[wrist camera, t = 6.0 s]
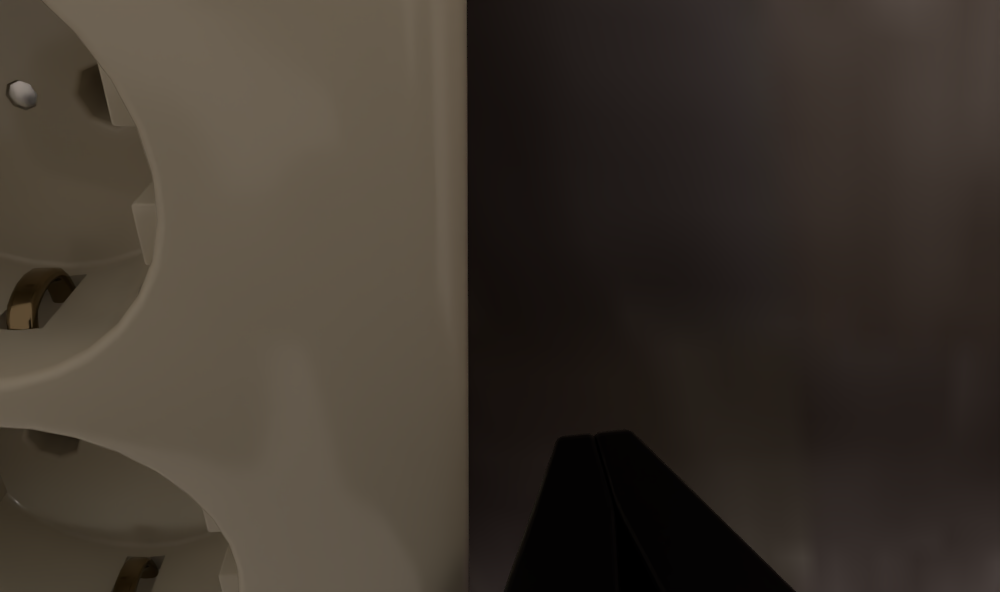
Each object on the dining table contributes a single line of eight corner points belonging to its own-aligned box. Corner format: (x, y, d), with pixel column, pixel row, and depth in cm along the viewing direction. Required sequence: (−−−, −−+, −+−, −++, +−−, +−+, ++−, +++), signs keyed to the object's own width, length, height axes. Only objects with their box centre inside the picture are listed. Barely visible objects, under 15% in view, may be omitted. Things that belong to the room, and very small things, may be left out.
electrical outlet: (-6, 1078, 12) (-1484, -729, 3) (98, 794, 16) (-432, -426, 6) (471, 1050, 12) (466, -636, 3) (467, 780, 16) (458, -397, 7)
